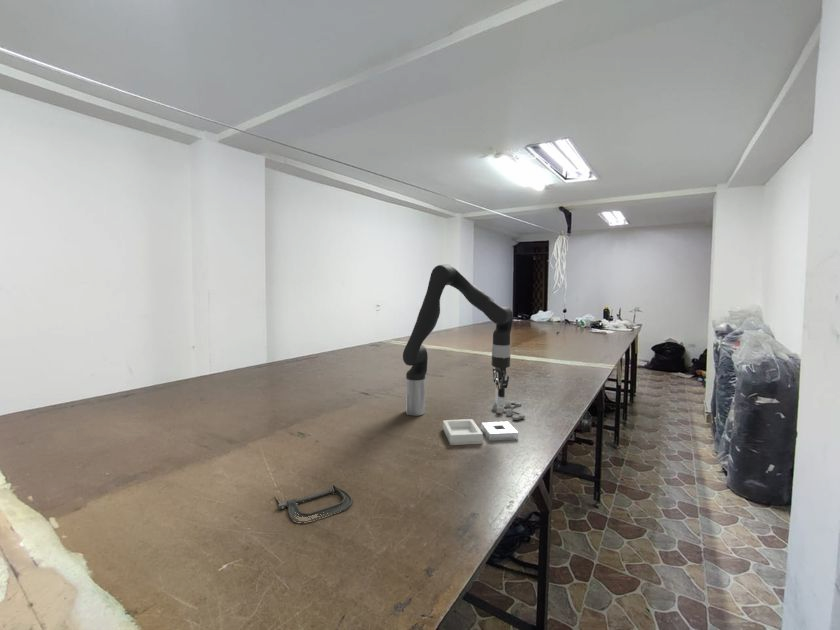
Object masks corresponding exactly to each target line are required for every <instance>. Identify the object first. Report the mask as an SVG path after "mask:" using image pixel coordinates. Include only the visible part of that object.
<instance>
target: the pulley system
mask: <svg viewBox="0 0 840 630" xmlns="http://www.w3.org/2000/svg"><path fill="white" fill-rule="evenodd" d="M512 405H513V406H512ZM521 406H522V402H519V401H518V402H517V401H515V400H511V401H504V405H497V404H496V403H495V402H493V403H492V406H491V409H492V411H493V412H495V413H497V414H506V416H508V417H509V416H510V417H511V416H512V420H514V421H518V420H522V419H525V418H526V415H525V414H524V413H519V412H517V411H513V409H515V408H518V407H521ZM504 410H505V411H504ZM514 414H515V415H514Z"/></svg>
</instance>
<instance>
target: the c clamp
mask: <svg viewBox="0 0 840 630" xmlns="http://www.w3.org/2000/svg"><path fill="white" fill-rule="evenodd" d="M330 493H334V494H335V493H338V494H337V495H339V497H340V498H341V497H342V498H341V499H342V500H341V501H340V502H339V503H335V504H332V505H329V506H327V507H323V508H321V509H318V510H315V511H312V512H303V511H301V509H300V506H299V504H301V503H300V502H303V501H306V500H309V499H312V500H315V499H314V498H316V499H318V498H317V497H320V496H322V497H325V496H324V495H326V496H328V495H329V494H330ZM327 494H328V495H327ZM334 494H333V495H334ZM335 495H336V494H335ZM320 498H321V497H320ZM279 500H280V499H279ZM279 500H278V502H279V504H278V505H277V506H278V510H279V509H284V510H285V508H284V507H286V506H288V507H287V512H288V516H289V519H290V518H291V519H292V520H294V521H296V522H301V523H304V522H308V521H313V520H316V519H319V518H322V517H325V516H328V515H331V514H334V513H337V512H340V511H343V512H345V511H347V510H349V507H350V508H351V507H352V505H353V498H352V496H351V494H349V493H348V492H347V491H345V490H344V489H342V488H339V487H337V486H336V485H335V484H333V485H332V486H331V488H330V489H327V490H323V491H319V492H317V493H314V494H310V495H306V496H303V497H299V498H297V499H295V498H292V499H288V500H286V502H281V500H280V501H279ZM309 501H310V500H309ZM278 502H277V503H278ZM306 502H307V501H306ZM296 503H299V504H296ZM303 503H304V502H303ZM346 509H347V510H346ZM344 510H345V511H344ZM295 512H296V513H295ZM323 512H324V513H323ZM297 513H298V514H299V515H298V514H297ZM327 513H328V514H327ZM340 513H341V512H340ZM315 514H318V515H317V516H320V517H317V518H314V519H312V518H311V517H310V518H311V520H308V521H299V520H298V519H296V518H295V517H297V516H299V517H302V516H303V517H308V516H312V515H315ZM320 514H321V515H322V516H321V515H320ZM323 514H324V515H323ZM295 515H296V516H295ZM294 516H295V517H294ZM297 518H298V517H297ZM308 518H309V517H308ZM291 519H290V520H291ZM292 520H291V521H292Z"/></svg>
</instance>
